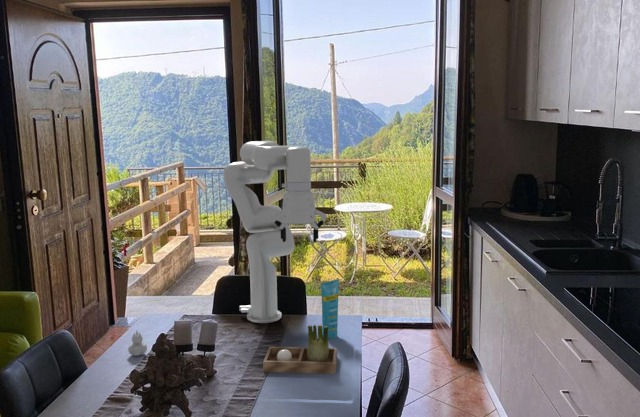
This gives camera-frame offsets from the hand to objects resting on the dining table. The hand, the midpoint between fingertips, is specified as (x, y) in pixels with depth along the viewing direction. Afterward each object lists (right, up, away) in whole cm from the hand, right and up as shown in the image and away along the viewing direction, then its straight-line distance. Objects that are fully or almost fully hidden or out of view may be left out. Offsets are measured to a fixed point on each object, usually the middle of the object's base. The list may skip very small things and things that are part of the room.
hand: (299, 241), depth 174 cm
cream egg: (-4, -35, -12) cm, 37 cm away
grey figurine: (-50, -35, -4) cm, 61 cm away
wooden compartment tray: (+1, -36, -13) cm, 38 cm away
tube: (+10, -32, +9) cm, 35 cm away
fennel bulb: (+6, -35, -13) cm, 38 cm away
